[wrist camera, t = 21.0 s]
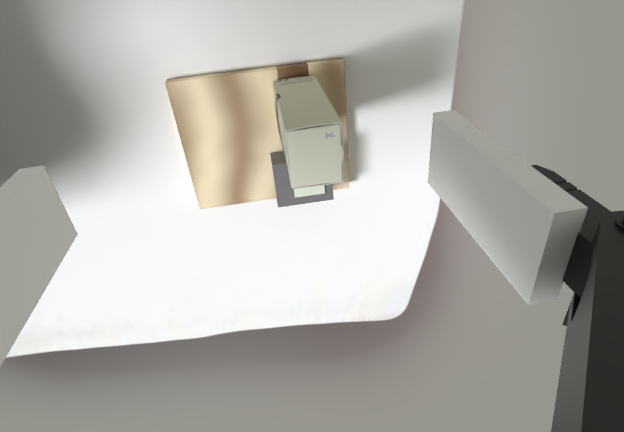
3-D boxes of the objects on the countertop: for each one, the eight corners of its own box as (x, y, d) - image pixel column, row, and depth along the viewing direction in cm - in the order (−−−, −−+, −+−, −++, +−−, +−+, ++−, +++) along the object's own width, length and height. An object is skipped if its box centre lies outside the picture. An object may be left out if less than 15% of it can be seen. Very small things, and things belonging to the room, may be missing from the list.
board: (200, 203, 47) (200, 209, 46) (167, 79, 39) (165, 82, 38) (346, 182, 48) (348, 187, 47) (341, 58, 41) (343, 60, 40)
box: (271, 79, 40) (282, 126, 29) (316, 74, 40) (344, 118, 29) (277, 131, 42) (290, 191, 32) (319, 126, 43) (346, 183, 32)
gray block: (276, 193, 46) (278, 208, 44) (270, 152, 44) (271, 165, 41) (328, 186, 47) (333, 200, 44) (325, 145, 44) (331, 157, 41)
